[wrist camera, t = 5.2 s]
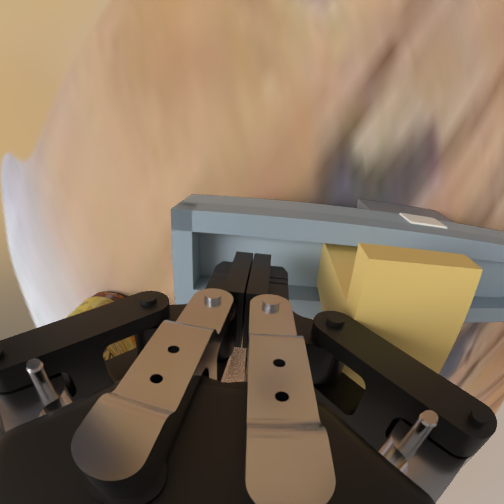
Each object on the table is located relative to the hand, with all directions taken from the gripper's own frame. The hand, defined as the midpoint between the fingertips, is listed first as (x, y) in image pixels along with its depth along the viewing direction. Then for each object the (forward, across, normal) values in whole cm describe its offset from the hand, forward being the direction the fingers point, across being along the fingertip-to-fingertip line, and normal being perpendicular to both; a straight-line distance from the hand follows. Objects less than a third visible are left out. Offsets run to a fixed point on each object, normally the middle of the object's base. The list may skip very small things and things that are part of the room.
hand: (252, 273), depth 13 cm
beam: (+7, -9, 0) cm, 12 cm away
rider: (+2, -5, 0) cm, 6 cm away
